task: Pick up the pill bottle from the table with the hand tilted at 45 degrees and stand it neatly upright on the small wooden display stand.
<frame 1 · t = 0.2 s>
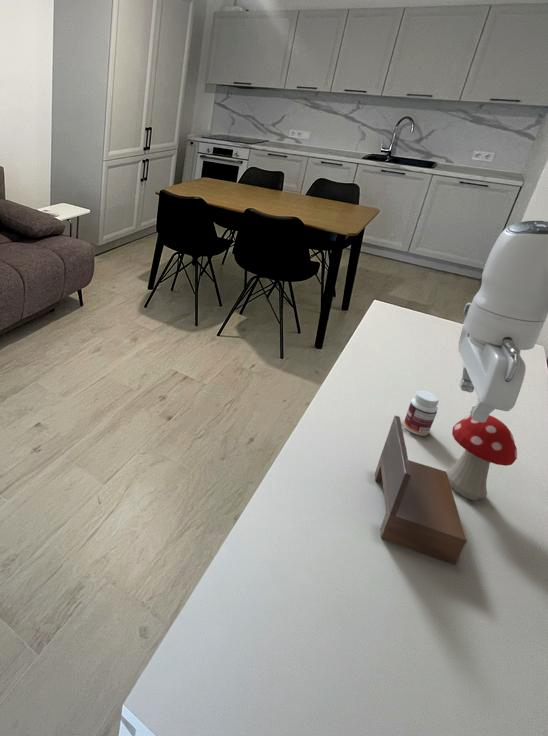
hand: (471, 403, 80), 20 cm above the counter, tool pointing down, fingers open, 8 cm apart
wooden display stand: (410, 514, 83), on the counter
pill bottle: (415, 429, 105), on the counter
decorative mushroom: (463, 488, 90), on the counter
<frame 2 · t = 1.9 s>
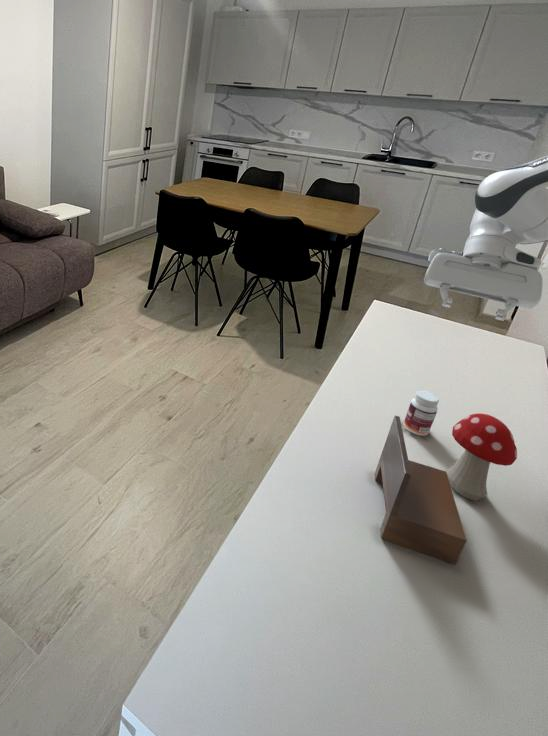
hand: (472, 312, 105), 24 cm above the counter, tool tilted 45°, fingers open, 8 cm apart
nothing on the counter moved.
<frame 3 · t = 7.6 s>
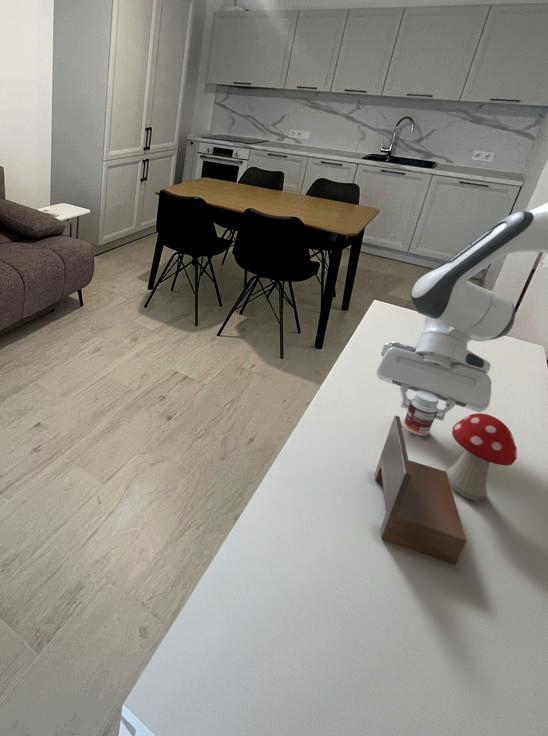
hand: (421, 413, 103), 4 cm above the counter, tool tilted 45°, fingers closed on pill bottle, 5 cm apart
pill bottle: (415, 429, 105), on the counter, touching gripper
everything else where it was.
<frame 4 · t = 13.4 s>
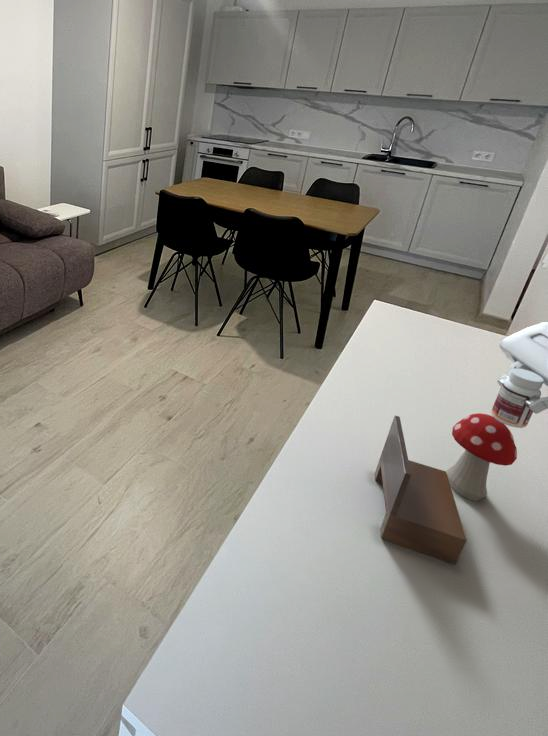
hand: (514, 396, 78), 22 cm above the counter, tool tilted 45°, fingers closed on pill bottle, 5 cm apart
pill bottle: (507, 420, 80), point 17 cm above the counter, touching gripper
everything else where it was.
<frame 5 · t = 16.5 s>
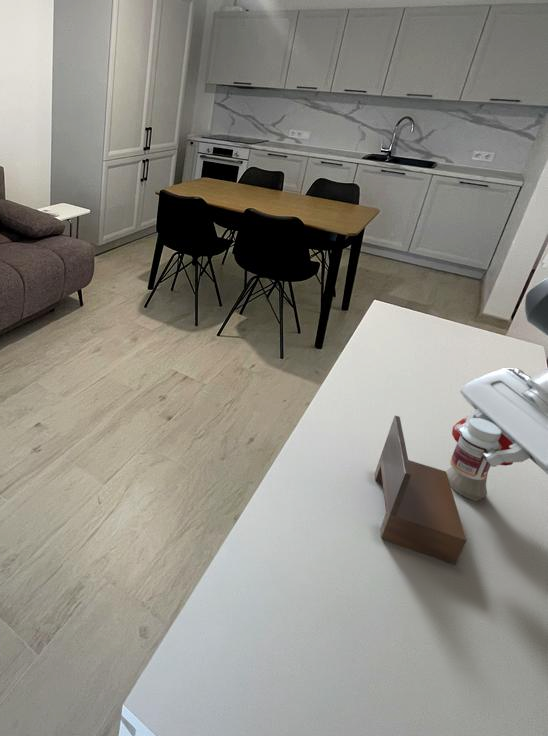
hand: (473, 447, 77), 15 cm above the counter, tool tilted 45°, fingers closed on pill bottle, 5 cm apart
pill bottle: (466, 470, 78), point 11 cm above the counter, touching gripper
everything else where it was.
when the fingers open (9 cm above the counter, at t = 19.2 s): pill bottle stays where it is, resting on wooden display stand.
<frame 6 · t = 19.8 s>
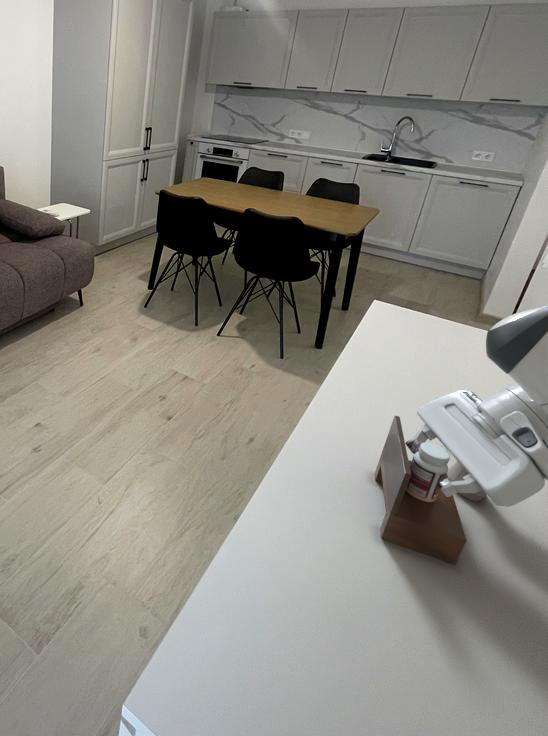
hand: (424, 468, 79), 10 cm above the counter, tool tilted 45°, fingers open, 8 cm apart
pill bottle: (418, 492, 81), point 5 cm above the counter, touching wooden display stand
everything else where it was.
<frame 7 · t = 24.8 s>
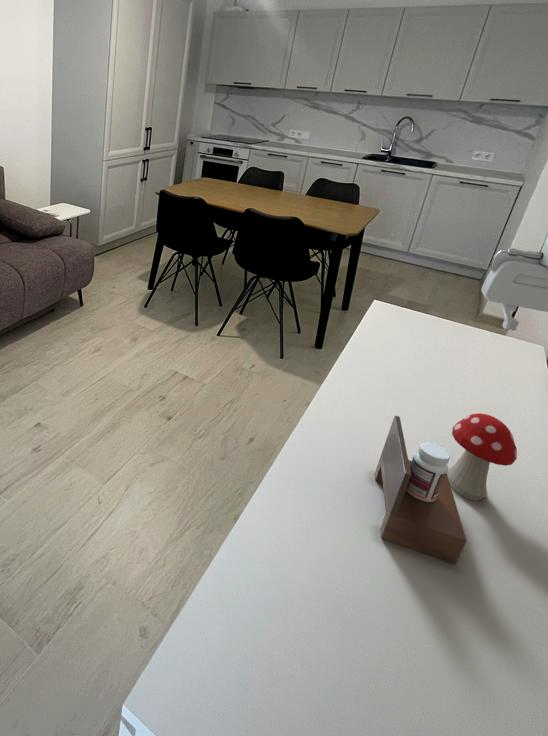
hand: (542, 335, 84), 29 cm above the counter, tool pointing down, fingers open, 8 cm apart
nothing on the counter moved.
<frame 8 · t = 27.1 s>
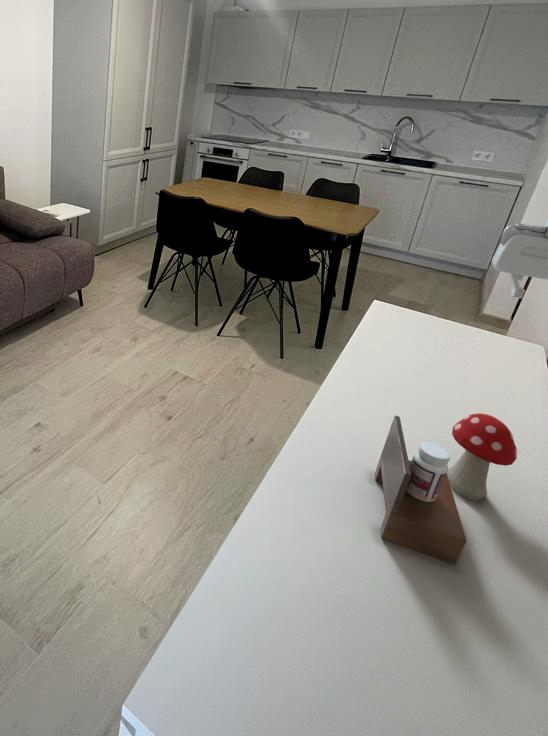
hand: (546, 302, 93), 31 cm above the counter, tool pointing down, fingers open, 8 cm apart
nothing on the counter moved.
at the end: pill bottle inside the target area on the wooden display stand (0.1 cm from its centre), point 4.8 cm above the wooden display stand's base; pill bottle tilted 0°; the gripper is holding nothing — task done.
